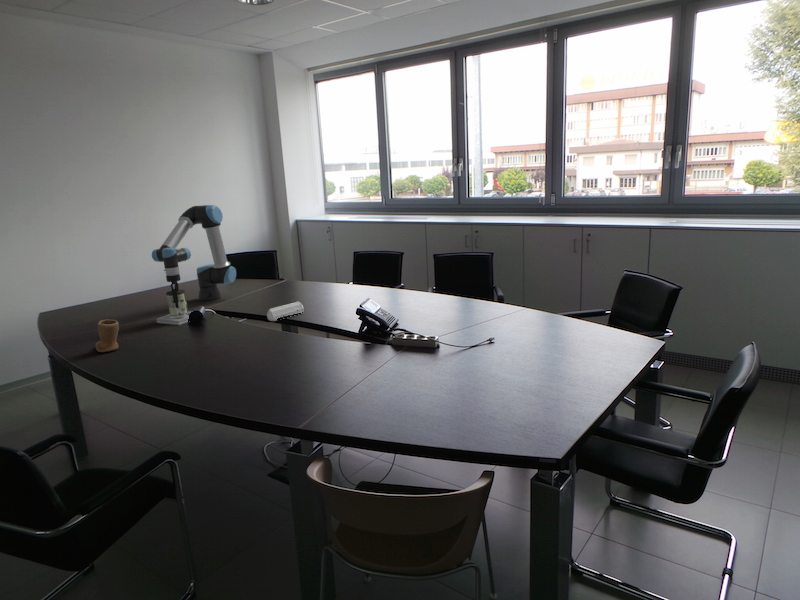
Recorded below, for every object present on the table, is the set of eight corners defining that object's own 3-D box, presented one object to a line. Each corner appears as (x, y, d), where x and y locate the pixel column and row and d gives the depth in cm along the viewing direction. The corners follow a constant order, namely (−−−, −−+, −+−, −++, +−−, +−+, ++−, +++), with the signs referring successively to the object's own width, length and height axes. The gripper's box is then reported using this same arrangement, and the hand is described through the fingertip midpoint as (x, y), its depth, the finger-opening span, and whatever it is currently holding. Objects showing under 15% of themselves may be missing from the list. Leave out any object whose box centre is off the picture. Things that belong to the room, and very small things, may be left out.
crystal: (272, 316, 294) (307, 307, 310) (265, 308, 297) (301, 299, 314) (270, 326, 298) (305, 316, 314) (263, 318, 302) (298, 309, 318)
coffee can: (175, 312, 319) (171, 289, 315) (191, 312, 317) (187, 289, 314) (166, 317, 309) (162, 294, 305) (183, 316, 308) (179, 293, 304)
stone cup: (124, 350, 263) (118, 321, 259) (97, 355, 257) (90, 326, 253) (121, 342, 276) (116, 315, 272) (96, 347, 270) (90, 319, 266)
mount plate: (181, 314, 326) (180, 310, 325) (202, 316, 318) (202, 312, 317) (157, 322, 310) (156, 318, 309) (179, 325, 302) (178, 320, 302)
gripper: (167, 272, 316) (173, 307, 322) (164, 278, 296) (170, 316, 301) (180, 270, 319) (186, 305, 324) (178, 276, 298) (184, 314, 303)
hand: (178, 310), depth 313 cm, fingers closed on coffee can, 10 cm apart
